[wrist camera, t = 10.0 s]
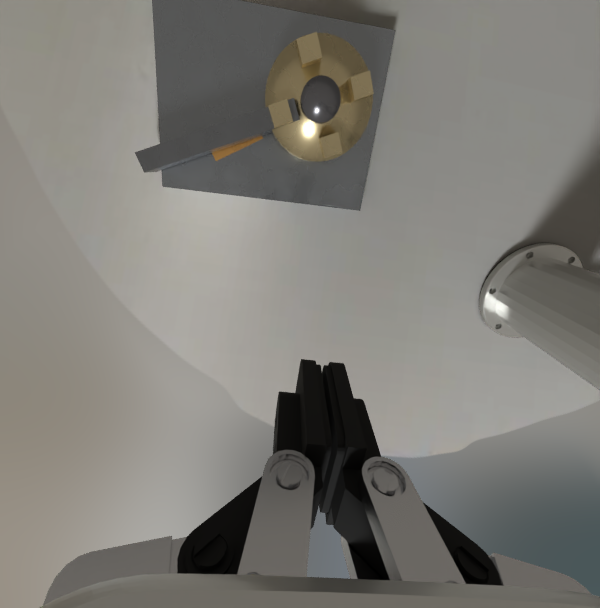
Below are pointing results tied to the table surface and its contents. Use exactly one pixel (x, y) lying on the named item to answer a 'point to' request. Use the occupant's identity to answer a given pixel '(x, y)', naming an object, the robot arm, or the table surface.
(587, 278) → the robot arm
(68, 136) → the table surface
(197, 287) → the table surface
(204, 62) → the base plate
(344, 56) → the gold disc with handle
